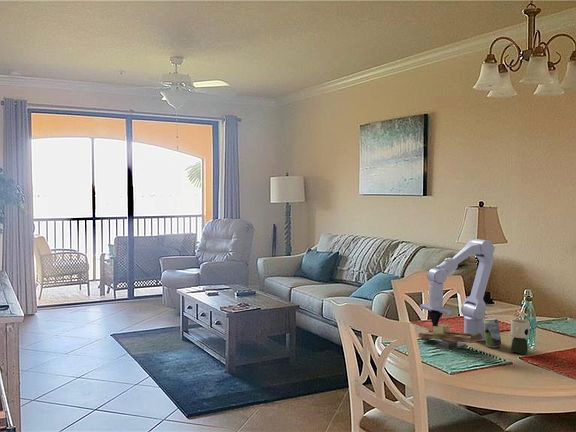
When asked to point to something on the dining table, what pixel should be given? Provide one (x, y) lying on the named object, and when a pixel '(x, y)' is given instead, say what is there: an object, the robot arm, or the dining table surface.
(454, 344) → the pivot stand
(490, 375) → the dining table surface
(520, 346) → the character mug
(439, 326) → the brass block
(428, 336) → the beam
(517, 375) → the dining table surface
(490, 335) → the beverage can
